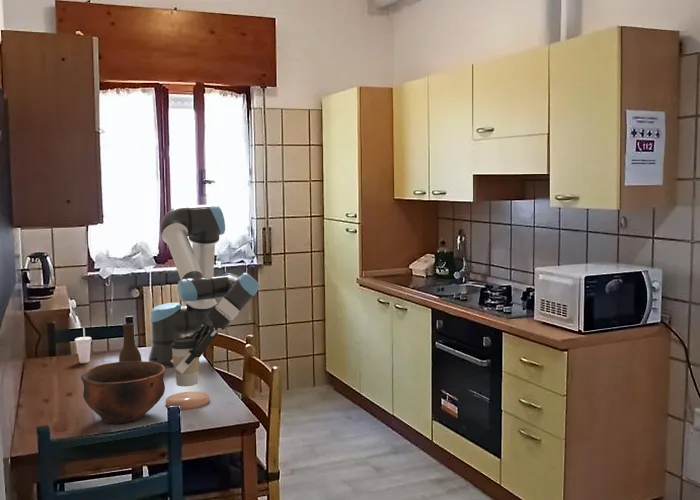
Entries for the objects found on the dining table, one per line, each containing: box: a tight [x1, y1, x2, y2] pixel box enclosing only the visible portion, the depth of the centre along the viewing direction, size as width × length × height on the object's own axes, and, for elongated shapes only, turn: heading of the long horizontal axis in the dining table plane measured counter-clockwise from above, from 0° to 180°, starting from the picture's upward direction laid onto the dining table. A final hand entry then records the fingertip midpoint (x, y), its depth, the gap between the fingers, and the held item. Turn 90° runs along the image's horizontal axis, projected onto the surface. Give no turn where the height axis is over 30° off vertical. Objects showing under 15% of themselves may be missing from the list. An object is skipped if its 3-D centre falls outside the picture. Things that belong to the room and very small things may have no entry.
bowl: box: [80, 360, 166, 424], centre depth 226 cm, size 25×25×15 cm
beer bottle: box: [118, 322, 143, 362], centre depth 253 cm, size 8×8×24 cm
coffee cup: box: [171, 335, 200, 387], centre depth 239 cm, size 9×9×15 cm
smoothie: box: [74, 327, 92, 364], centre depth 296 cm, size 6×6×14 cm
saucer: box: [165, 391, 211, 410], centre depth 241 cm, size 14×14×2 cm
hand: (176, 367), depth 238 cm, fingers closed on coffee cup, 9 cm apart
